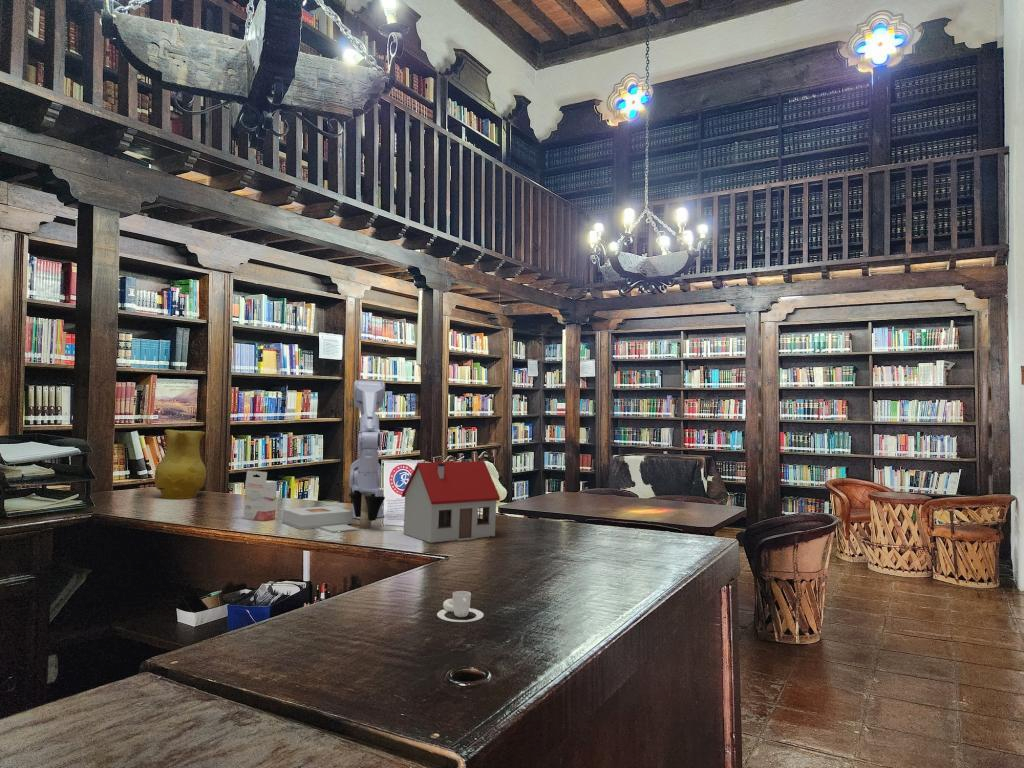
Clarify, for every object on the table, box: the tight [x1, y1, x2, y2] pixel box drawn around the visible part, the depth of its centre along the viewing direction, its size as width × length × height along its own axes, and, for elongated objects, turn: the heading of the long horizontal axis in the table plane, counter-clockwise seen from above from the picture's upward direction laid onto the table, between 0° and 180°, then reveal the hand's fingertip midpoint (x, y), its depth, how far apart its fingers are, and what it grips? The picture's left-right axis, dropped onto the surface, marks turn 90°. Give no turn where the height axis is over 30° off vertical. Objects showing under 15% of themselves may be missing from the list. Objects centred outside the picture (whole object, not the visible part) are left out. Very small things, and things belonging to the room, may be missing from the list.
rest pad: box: [320, 524, 359, 533], centre depth 188 cm, size 8×8×1 cm
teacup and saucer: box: [436, 590, 485, 623], centre depth 113 cm, size 9×8×4 cm
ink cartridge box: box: [243, 470, 278, 522], centre depth 201 cm, size 9×5×15 cm, turn 68°
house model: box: [401, 461, 501, 544], centre depth 186 cm, size 25×20×21 cm
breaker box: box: [281, 505, 353, 530], centre depth 196 cm, size 16×13×4 cm
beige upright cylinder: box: [359, 493, 372, 529], centre depth 193 cm, size 3×3×10 cm
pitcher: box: [153, 429, 207, 500], centre depth 244 cm, size 17×19×25 cm
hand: (365, 518), depth 193 cm, fingers open, 7 cm apart
